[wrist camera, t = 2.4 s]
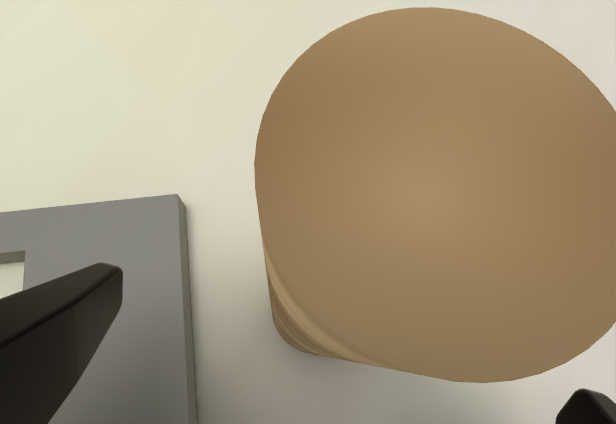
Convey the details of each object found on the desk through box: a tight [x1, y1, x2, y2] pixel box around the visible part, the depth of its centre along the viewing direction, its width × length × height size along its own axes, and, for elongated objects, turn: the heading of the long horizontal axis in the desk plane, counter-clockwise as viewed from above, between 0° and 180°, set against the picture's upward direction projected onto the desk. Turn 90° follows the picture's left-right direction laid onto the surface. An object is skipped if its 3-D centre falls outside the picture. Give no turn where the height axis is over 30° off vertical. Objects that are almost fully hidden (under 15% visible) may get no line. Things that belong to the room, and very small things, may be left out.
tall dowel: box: [254, 8, 616, 383], centre depth 10 cm, size 4×4×14 cm
